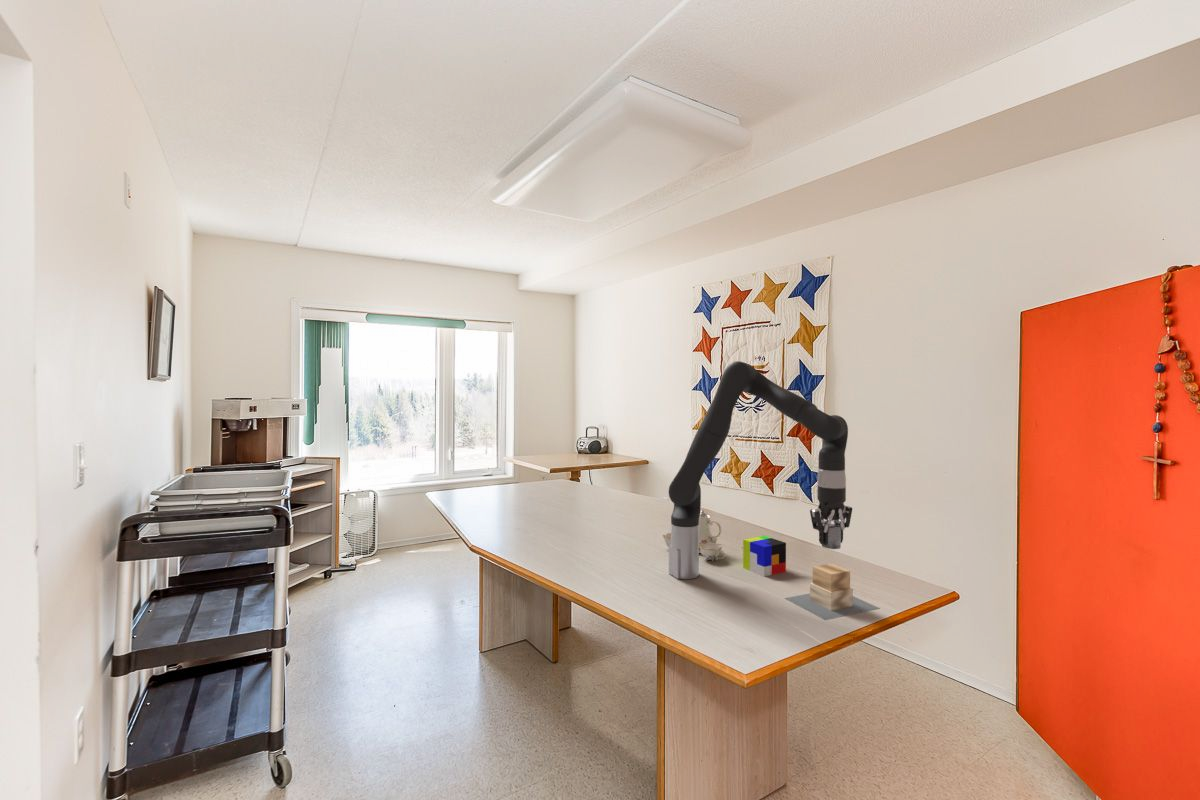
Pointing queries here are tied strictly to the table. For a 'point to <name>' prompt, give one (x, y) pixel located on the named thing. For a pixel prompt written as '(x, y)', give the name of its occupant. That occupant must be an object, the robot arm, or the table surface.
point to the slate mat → (828, 614)
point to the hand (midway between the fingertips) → (831, 543)
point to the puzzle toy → (764, 555)
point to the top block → (831, 577)
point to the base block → (831, 597)
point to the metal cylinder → (833, 537)
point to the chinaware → (704, 538)
